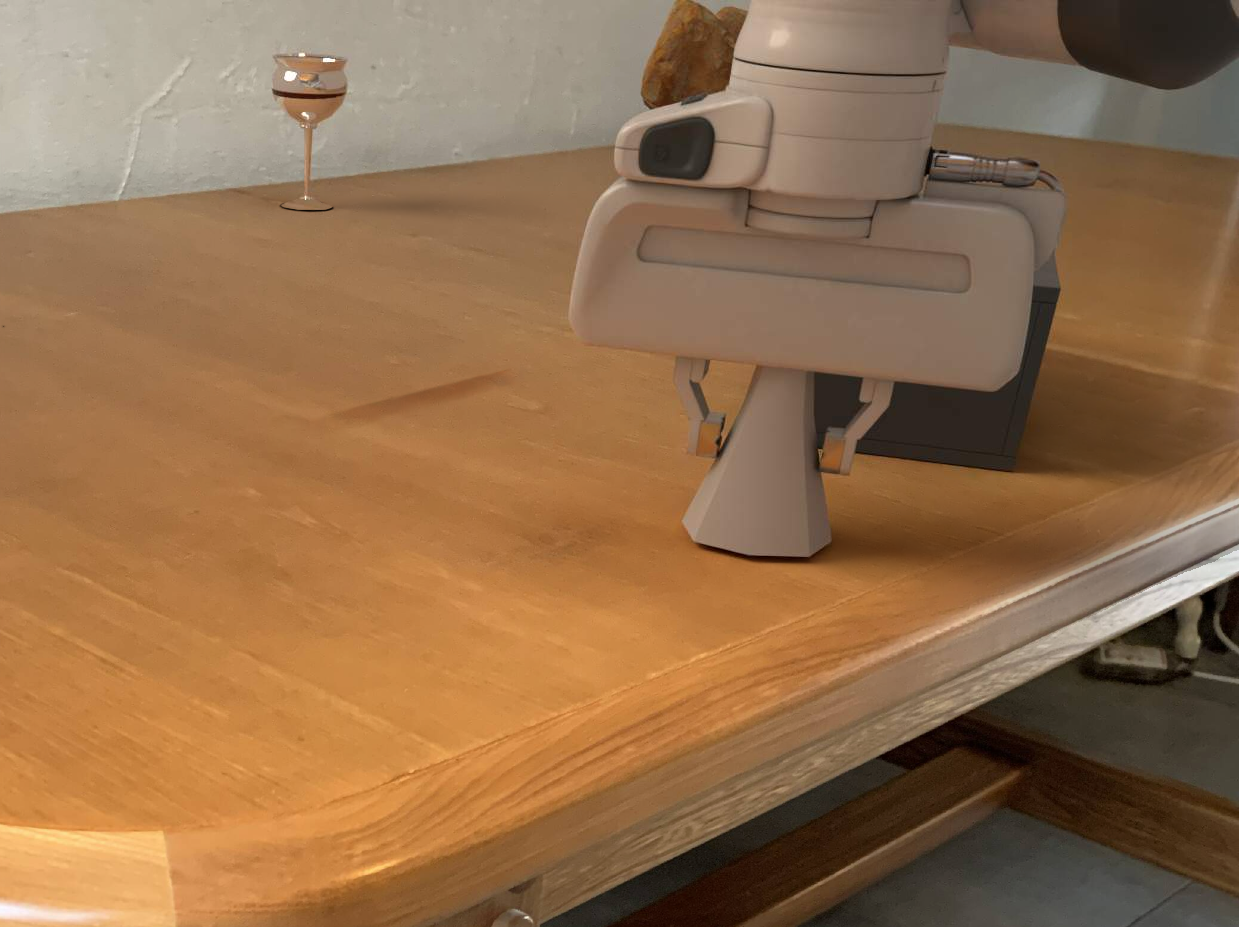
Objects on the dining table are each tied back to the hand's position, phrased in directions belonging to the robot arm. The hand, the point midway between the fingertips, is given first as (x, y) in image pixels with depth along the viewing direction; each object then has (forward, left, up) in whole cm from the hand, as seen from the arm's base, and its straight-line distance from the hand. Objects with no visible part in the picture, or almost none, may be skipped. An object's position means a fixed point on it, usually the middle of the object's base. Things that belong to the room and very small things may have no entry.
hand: (767, 462), depth 80 cm
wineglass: (+49, -76, -4) cm, 91 cm away
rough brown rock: (+19, -138, -4) cm, 140 cm away
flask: (0, 0, -4) cm, 4 cm away
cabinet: (-5, -25, -4) cm, 26 cm away
